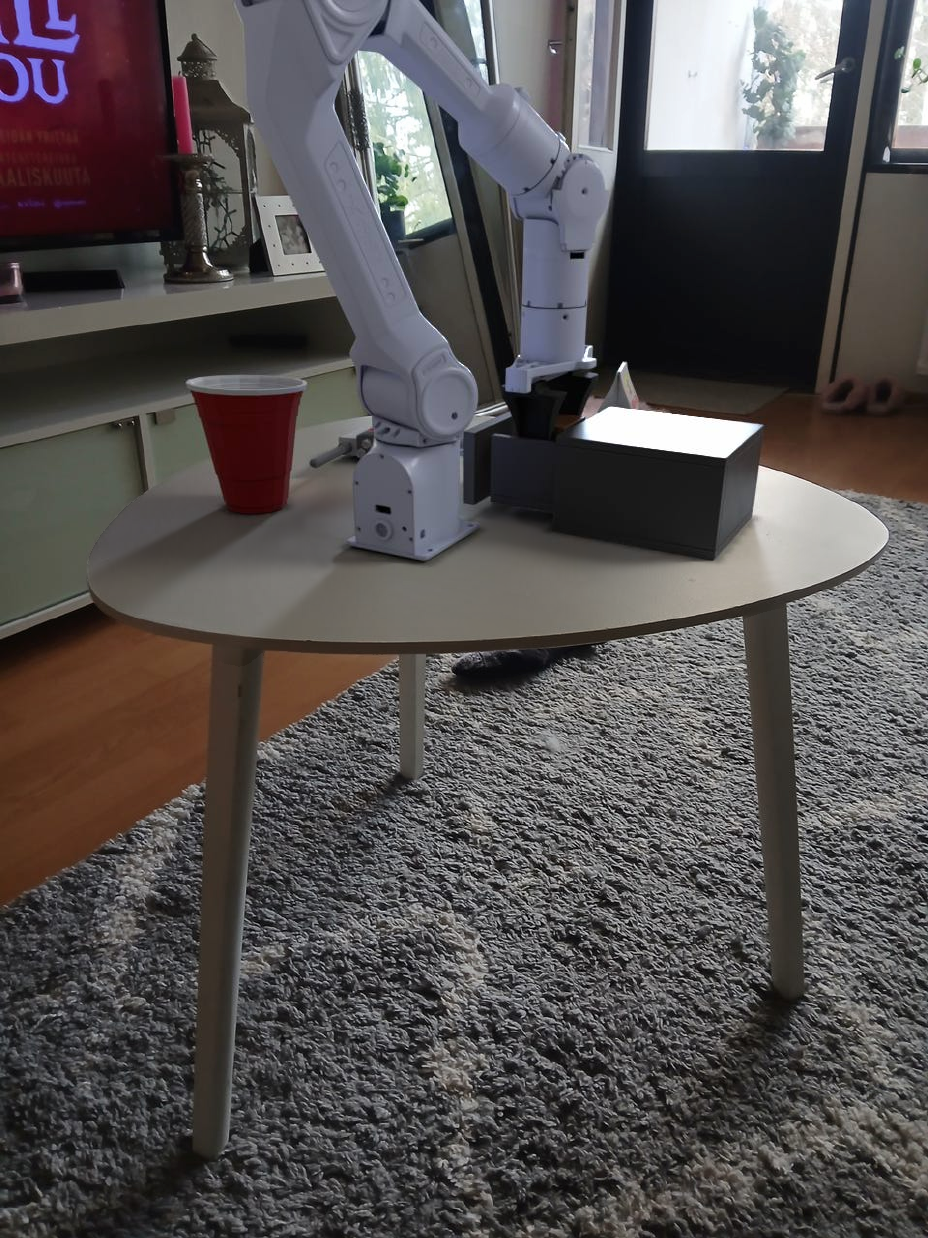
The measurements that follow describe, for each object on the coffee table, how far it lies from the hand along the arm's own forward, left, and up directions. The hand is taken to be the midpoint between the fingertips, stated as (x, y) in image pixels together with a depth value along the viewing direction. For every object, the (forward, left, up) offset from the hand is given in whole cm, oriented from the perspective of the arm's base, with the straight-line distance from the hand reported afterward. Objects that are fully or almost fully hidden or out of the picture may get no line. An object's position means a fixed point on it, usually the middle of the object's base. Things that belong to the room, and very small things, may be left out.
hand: (548, 456), depth 90 cm
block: (0, 0, -1) cm, 1 cm away
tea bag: (+19, 0, -5) cm, 20 cm away
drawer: (0, +1, -4) cm, 4 cm away
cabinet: (0, -11, -5) cm, 12 cm away
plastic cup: (-13, +24, -5) cm, 28 cm away
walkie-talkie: (+7, +23, -5) cm, 25 cm away
